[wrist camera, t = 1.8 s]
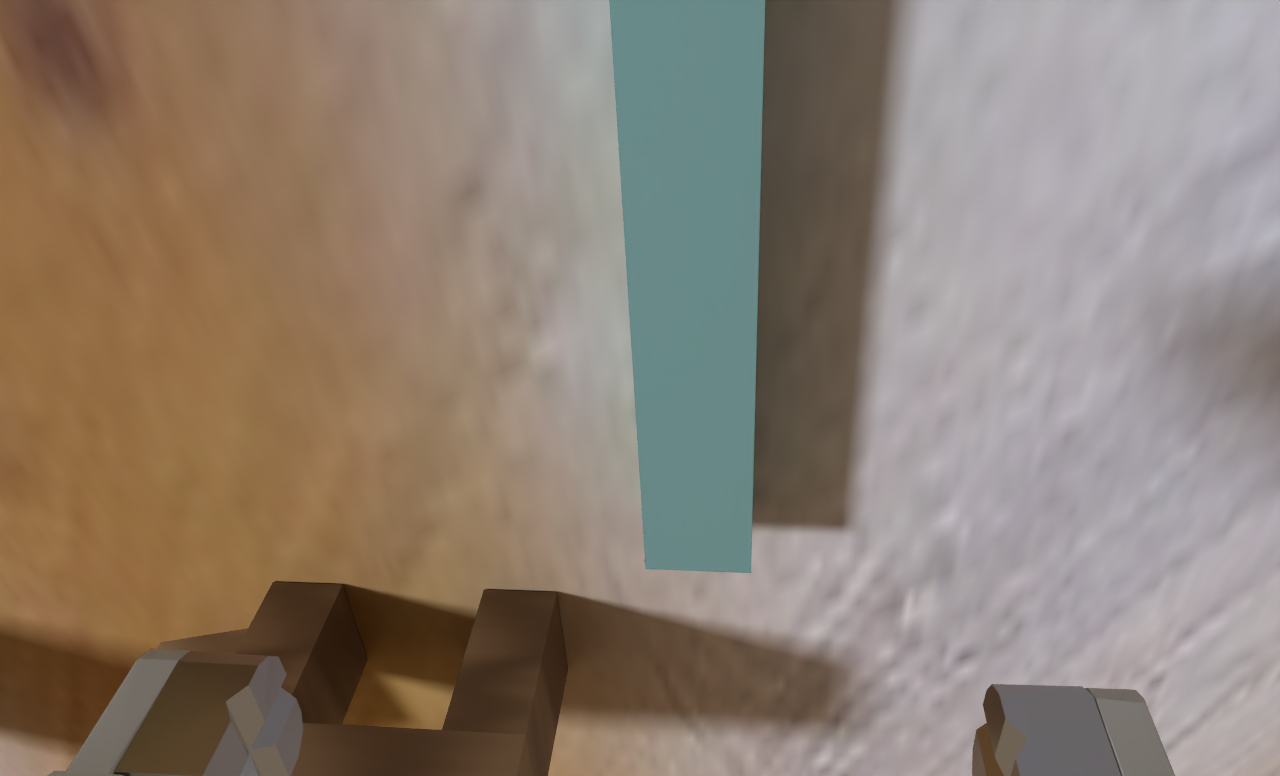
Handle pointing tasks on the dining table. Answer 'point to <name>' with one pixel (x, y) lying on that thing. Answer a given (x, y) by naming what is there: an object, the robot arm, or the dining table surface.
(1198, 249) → the dining table surface
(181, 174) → the dining table surface
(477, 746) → the wooden u-shaped block
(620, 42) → the teal square bar
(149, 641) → the dining table surface
